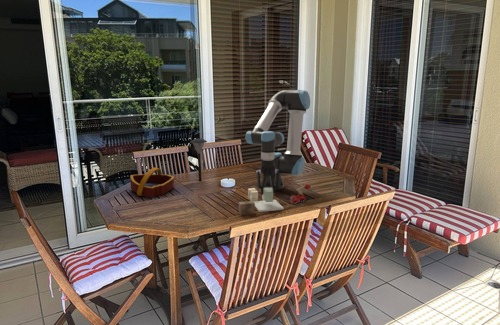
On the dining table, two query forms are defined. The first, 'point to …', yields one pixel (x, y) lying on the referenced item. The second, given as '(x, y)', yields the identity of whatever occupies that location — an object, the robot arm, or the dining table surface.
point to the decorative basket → (151, 183)
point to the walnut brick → (246, 207)
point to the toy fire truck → (300, 197)
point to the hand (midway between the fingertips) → (267, 199)
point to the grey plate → (268, 206)
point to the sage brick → (268, 195)
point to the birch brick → (253, 194)
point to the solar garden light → (198, 146)
